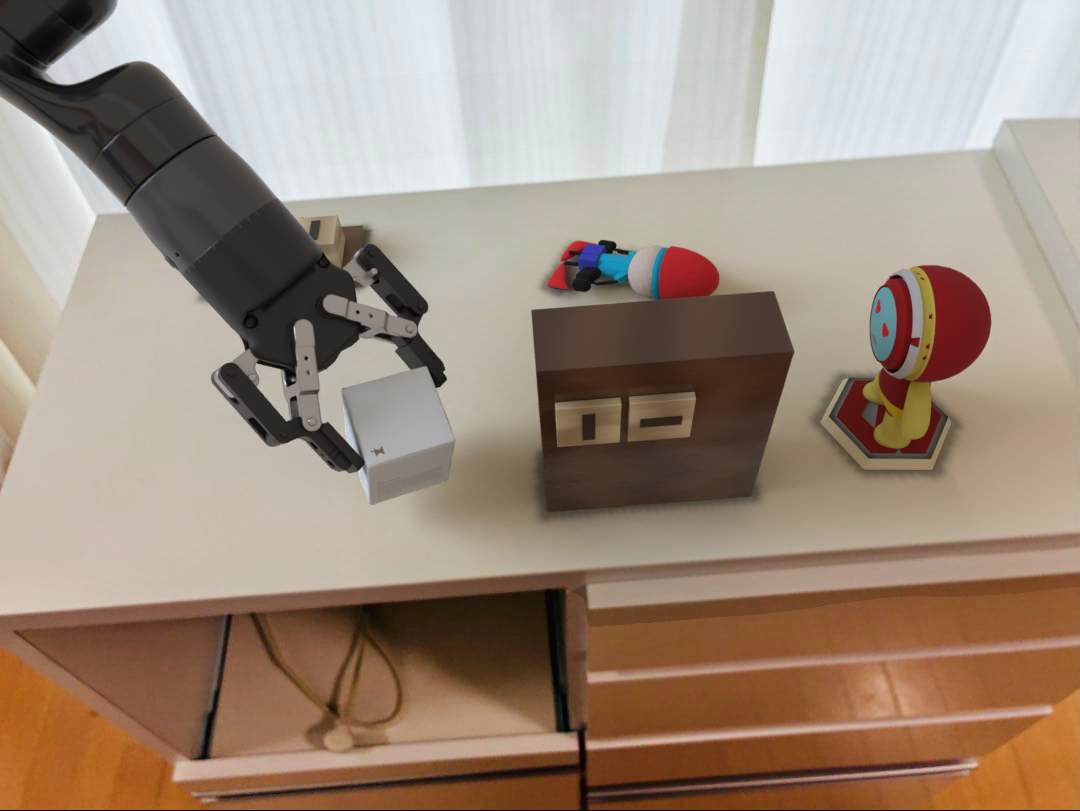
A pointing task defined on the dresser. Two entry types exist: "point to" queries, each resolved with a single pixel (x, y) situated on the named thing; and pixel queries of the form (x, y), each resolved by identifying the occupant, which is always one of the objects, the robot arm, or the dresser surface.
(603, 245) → the toy figure
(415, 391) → the product box
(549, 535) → the dresser surface
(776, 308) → the dark wooden block
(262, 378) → the dresser surface
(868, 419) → the figurine
